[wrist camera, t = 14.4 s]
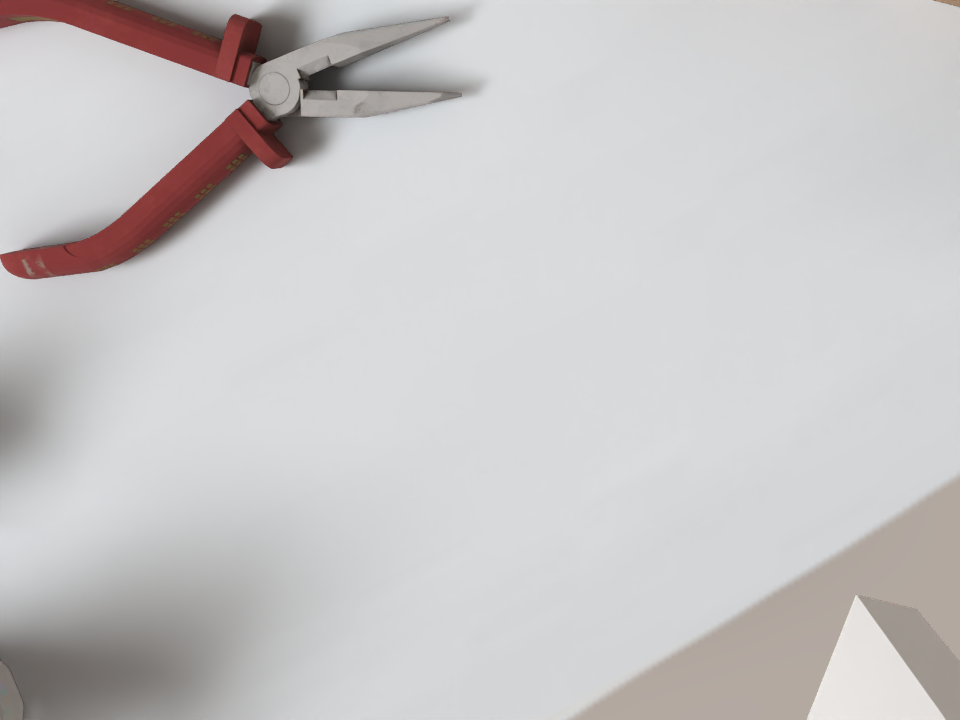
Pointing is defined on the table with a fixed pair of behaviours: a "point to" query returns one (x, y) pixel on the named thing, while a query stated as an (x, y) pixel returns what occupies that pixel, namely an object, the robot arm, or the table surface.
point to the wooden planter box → (950, 2)
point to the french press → (9, 696)
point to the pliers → (241, 134)
